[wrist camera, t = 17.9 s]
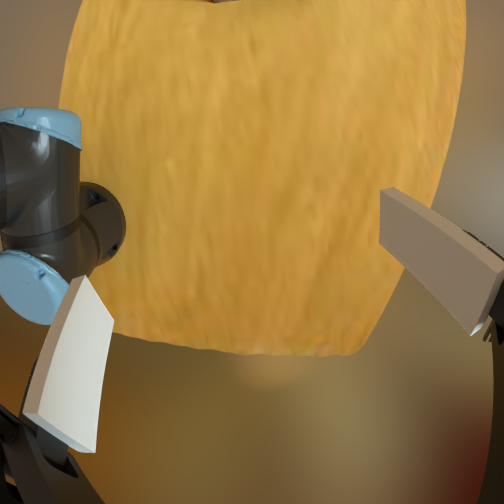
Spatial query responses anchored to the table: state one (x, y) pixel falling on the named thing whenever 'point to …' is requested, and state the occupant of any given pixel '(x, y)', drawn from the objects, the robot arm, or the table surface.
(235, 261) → the table surface
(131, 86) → the table surface
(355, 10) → the table surface
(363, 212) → the table surface
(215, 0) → the tower bottom block
